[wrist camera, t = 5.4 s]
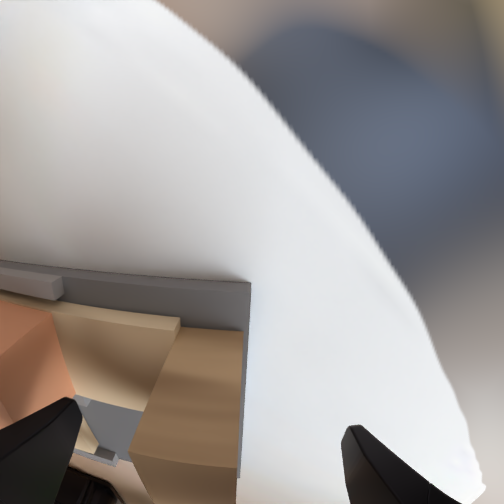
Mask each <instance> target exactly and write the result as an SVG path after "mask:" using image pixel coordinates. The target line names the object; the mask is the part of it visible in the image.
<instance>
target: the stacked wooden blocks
mask: <svg viewBox="0 0 504 504" xmlns="http://www.w3.org/2000/svg"><path fill="white" fill-rule="evenodd" d="M0 300H1V301H5V302H8V303H12V304H16V305H20V306H23V307H27V308H31V309H36V310H40V311H44V312H48V313H52V317H53V321H54V325H55V329H56V333H57V337H58V341H59V344H60V348H61V351H62V354H63V357H64V361H65V364H66V367H67V370H68V373H69V376H70V378H71V381H72V384H73V387H74V389H75V392H76V395H80V396H83V397H86V398H90V399H93V400H97V401H100V402H104V403H108V404H112V405H116V406H120V407H124V408H128V409H133V410H138V411H143V414H142V417H141V419H140V422H139V424H138V427H137V429H136V432H135V434H134V436H133V439H132V441H131V444H130V447H129V449H128V453H129V456H130V458H131V460H132V462H133V464H134V466H135V468H136V470H137V473H138V475H139V477H140V479H141V480H142V482H143V484H144V486H145V488H146V490H147V492H148V494H149V495H150V497H151V499H152V501H153V502H154V504H236V485H237V463H238V440H239V418H240V397H241V376H242V355H243V335H244V331H228V330H213V329H201V328H189V327H181V324H180V317H170V316H160V315H151V314H143V313H135V312H127V311H119V310H112V309H105V308H99V307H92V306H86V305H80V304H74V303H68V302H63V301H57V300H55V301H54V300H49V299H43V298H39V297H34V296H29V295H24V294H20V293H15V292H11V291H7V290H3V289H0Z"/></svg>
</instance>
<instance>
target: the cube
mask: <svg viewBox="0 0 504 504" xmlns="http://www.w3.org/2000/svg"><path fill="white" fill-rule="evenodd" d="M75 394H76V392H75V389H74V387H73V384H72V381H71V378H70V376H69V373H68V370H67V367H66V364H65V361H64V357H63V354H62V351H61V348H60V344H59V341H58V337H57V333H56V329H55V325H54V321H53V317H52V313H48V312H44V311H40V310H36V309H31V308H27V307H23V306H20V305H16V304H12V303H8V302H5V301H1V300H0V429H2V428H4V427H6V426H9V425H11V424H13V423H15V422H17V421H19V420H21V419H23V418H24V417H26V416H28V415H30V414H32V413H34V412H36V411H38V410H40V409H42V408H44V407H46V406H48V405H50V404H52V403H53V402H55V401H57V400H59V399H61V398H63V397H69V398H73V397H74V395H75Z"/></svg>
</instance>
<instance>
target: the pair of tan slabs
mask: <svg viewBox="0 0 504 504" xmlns="http://www.w3.org/2000/svg"><path fill="white" fill-rule="evenodd" d="M82 416H83V415H82ZM98 445H99V443H98V441H97V440H96V438H95V436H94V435H93V433H92V431H91V429H90V428H89V426H88V424H87V422H86V421H85V419H84V417H83V420H82V424H81V427H80V430H79V434H78V437H77V441H76V444H75V448H76V449H79V450H82V451H85V452H88V453H91V454H94V453H95V451H96V449H97V447H98Z"/></svg>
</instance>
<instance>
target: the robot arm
mask: <svg viewBox="0 0 504 504" xmlns="http://www.w3.org/2000/svg"><path fill="white" fill-rule="evenodd" d="M82 420H83V416H82V413H81V411H80V408H79V406H78V404H77V402H76V400H75V399H72V398H69V397H63V398H61V399H59V400H57V401H55V402H53V403H52V404H50V405H48V406H46V407H44V408H42V409H40V410H38V411H36V412H34V413H32V414H30V415H28V416H26V417H24V418H23V419H21V420H19V421H17V422H15V423H13V424H11V425H9V426H6V427H4V428H2V429H0V504H125V503H124V502H123V500H122V499H121V498H120V496H119V495H118V494H117V492H116V491H115V489H114V488H113V486H112V485H111V484H109V483H107V482H105V481H102V480H99V479H96V478H93V477H91V476H88V475H85V474H83V473H80V472H78V471H75V470H73V469H70V468H68V464H69V462H70V459H71V457H72V454H73V451H74V448H75V444H76V441H77V437H78V434H79V430H80V427H81V424H82ZM341 450H342V458H343V466H344V475H345V483H346V487H347V492H348V496H349V500H350V504H461V503H459V502H458V501H456V500H454V499H453V498H451V497H449V496H448V495H446V494H445V493H443V492H442V491H441V490H439V489H438V488H437V487H435V486H434V485H433V484H431V483H430V484H429V481H427V480H426V479H425V478H424V477H422V476H421V475H420V474H419V473H417V472H416V471H415V470H414V469H412V468H411V467H410V466H409V465H407V464H406V463H405V462H404V461H403V460H401V459H400V458H399V457H398V456H397V455H395V454H394V453H393V452H392V451H391V450H390V449H388V448H387V447H386V446H385V445H384V444H382V443H381V442H380V441H379V440H378V439H377V438H376V437H374V436H373V435H372V434H371V433H370V432H369V431H368V430H366V429H365V428H364V427H363V426H362V425H351V426H349V427H348V428H347V429H346V432H345V434H344V436H343V439H342V441H341Z"/></svg>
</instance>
